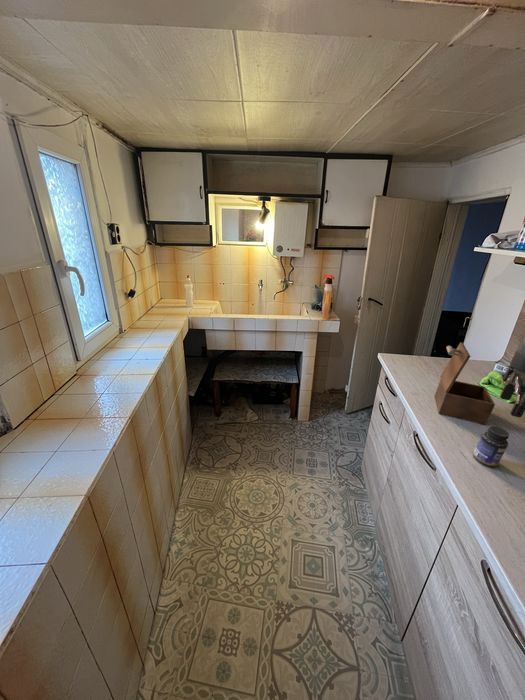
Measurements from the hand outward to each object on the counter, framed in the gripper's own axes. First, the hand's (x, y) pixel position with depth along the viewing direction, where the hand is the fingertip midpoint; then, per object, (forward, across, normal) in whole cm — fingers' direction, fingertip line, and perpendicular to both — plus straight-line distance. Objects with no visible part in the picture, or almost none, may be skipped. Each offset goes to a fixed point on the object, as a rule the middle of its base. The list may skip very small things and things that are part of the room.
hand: (509, 406), depth 76 cm
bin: (+19, +26, +2) cm, 32 cm away
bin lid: (+2, +26, +8) cm, 27 cm away
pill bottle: (+19, 0, 0) cm, 19 cm away
